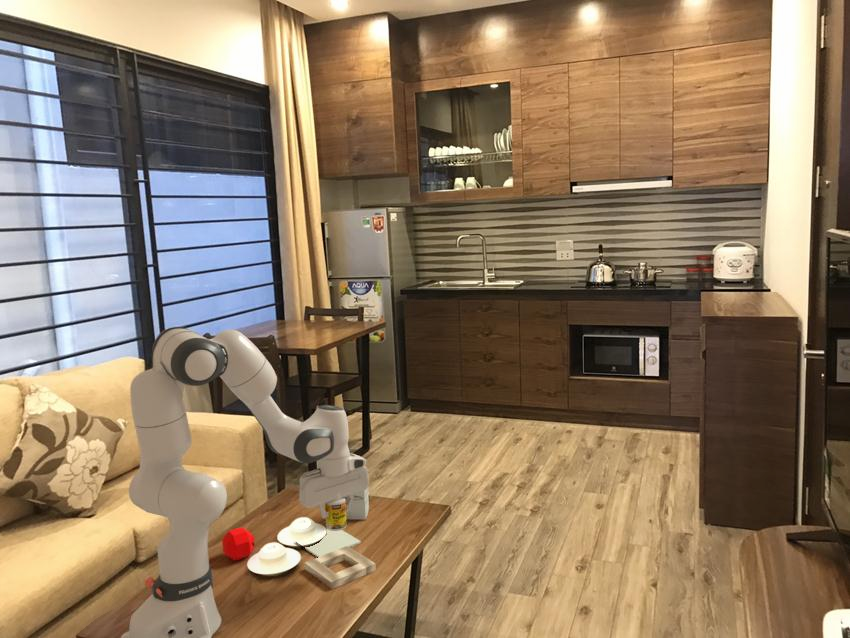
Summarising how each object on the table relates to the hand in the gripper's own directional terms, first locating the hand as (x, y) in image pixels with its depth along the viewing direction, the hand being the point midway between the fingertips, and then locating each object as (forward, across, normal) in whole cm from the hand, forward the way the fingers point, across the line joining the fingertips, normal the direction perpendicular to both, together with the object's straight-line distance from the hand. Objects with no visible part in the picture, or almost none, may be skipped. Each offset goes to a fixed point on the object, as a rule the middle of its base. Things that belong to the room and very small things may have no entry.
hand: (336, 513), depth 185 cm
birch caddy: (+16, 0, 0) cm, 16 cm away
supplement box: (+16, +24, +26) cm, 39 cm away
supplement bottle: (+4, 0, 0) cm, 4 cm away
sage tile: (+16, +6, +16) cm, 24 cm away
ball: (+17, -16, +27) cm, 36 cm away
